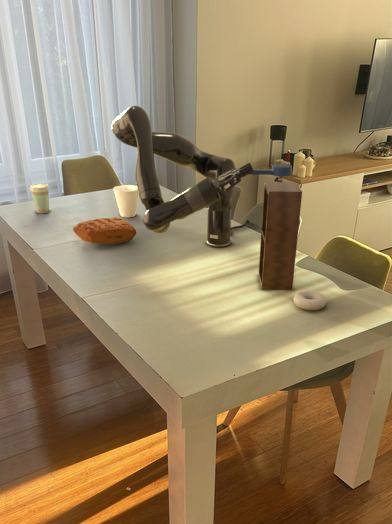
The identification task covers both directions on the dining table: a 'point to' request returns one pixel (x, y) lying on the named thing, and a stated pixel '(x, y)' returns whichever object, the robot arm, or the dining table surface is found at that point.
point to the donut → (309, 300)
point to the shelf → (279, 235)
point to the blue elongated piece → (273, 170)
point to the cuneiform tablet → (105, 231)
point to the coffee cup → (40, 197)
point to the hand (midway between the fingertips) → (251, 166)
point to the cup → (126, 199)
